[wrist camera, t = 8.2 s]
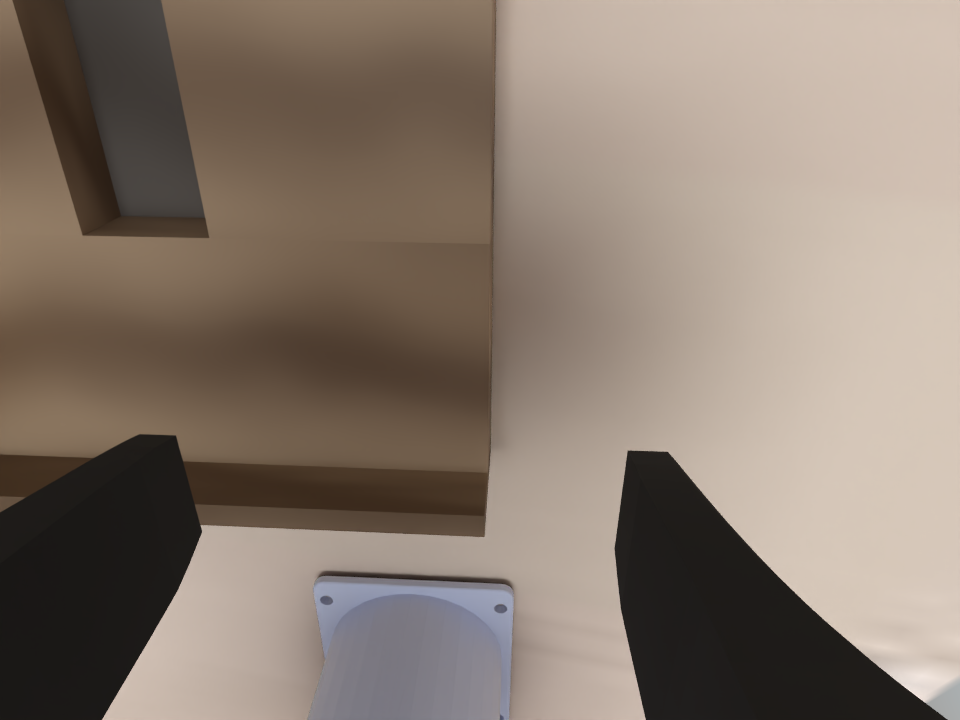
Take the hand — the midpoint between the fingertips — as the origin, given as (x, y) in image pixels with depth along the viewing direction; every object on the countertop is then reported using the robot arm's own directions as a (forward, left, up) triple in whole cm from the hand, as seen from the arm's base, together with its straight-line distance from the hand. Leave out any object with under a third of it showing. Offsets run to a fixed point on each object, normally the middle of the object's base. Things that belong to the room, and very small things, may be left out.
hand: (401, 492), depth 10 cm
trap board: (+1, +10, -10) cm, 15 cm away
